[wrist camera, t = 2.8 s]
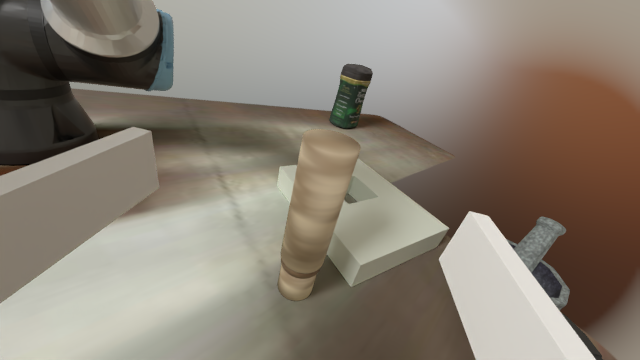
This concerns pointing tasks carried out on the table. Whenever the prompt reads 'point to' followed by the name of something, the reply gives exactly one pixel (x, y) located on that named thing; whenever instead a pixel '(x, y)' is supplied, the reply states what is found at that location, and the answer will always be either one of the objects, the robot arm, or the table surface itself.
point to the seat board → (374, 225)
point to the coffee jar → (350, 95)
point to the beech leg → (314, 207)
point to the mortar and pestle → (533, 253)
